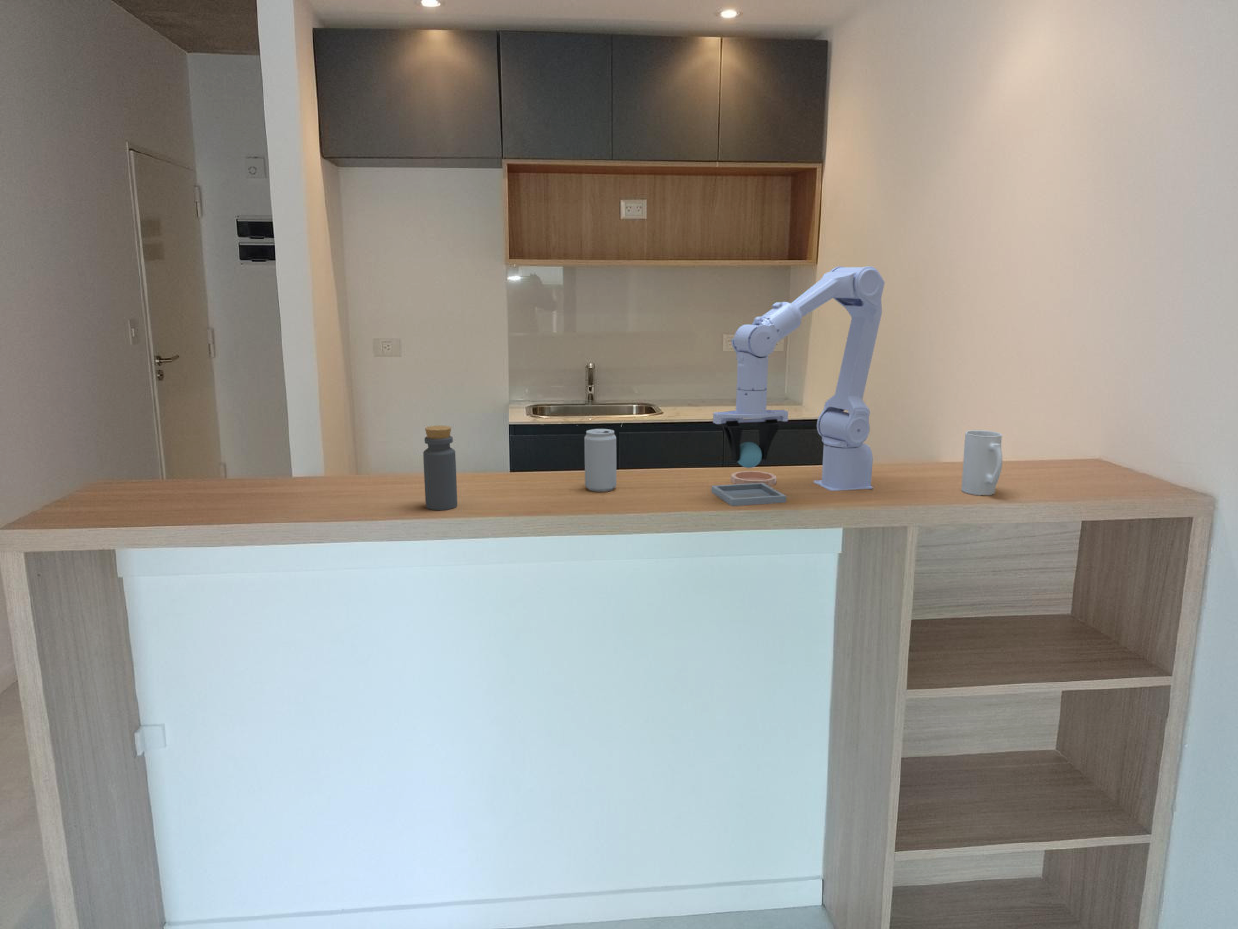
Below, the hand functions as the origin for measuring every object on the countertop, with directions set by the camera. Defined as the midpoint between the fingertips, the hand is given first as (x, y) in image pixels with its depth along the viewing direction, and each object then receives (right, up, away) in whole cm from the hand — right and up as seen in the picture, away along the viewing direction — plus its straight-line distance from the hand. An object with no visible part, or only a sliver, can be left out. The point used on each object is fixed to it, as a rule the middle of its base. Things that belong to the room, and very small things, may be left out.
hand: (749, 459), depth 166 cm
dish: (+3, -5, +14) cm, 15 cm away
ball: (0, -2, +1) cm, 2 cm away
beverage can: (-29, -6, +9) cm, 31 cm away
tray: (0, -8, +2) cm, 8 cm away
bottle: (-58, -9, -4) cm, 59 cm away
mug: (+47, -7, +6) cm, 48 cm away
